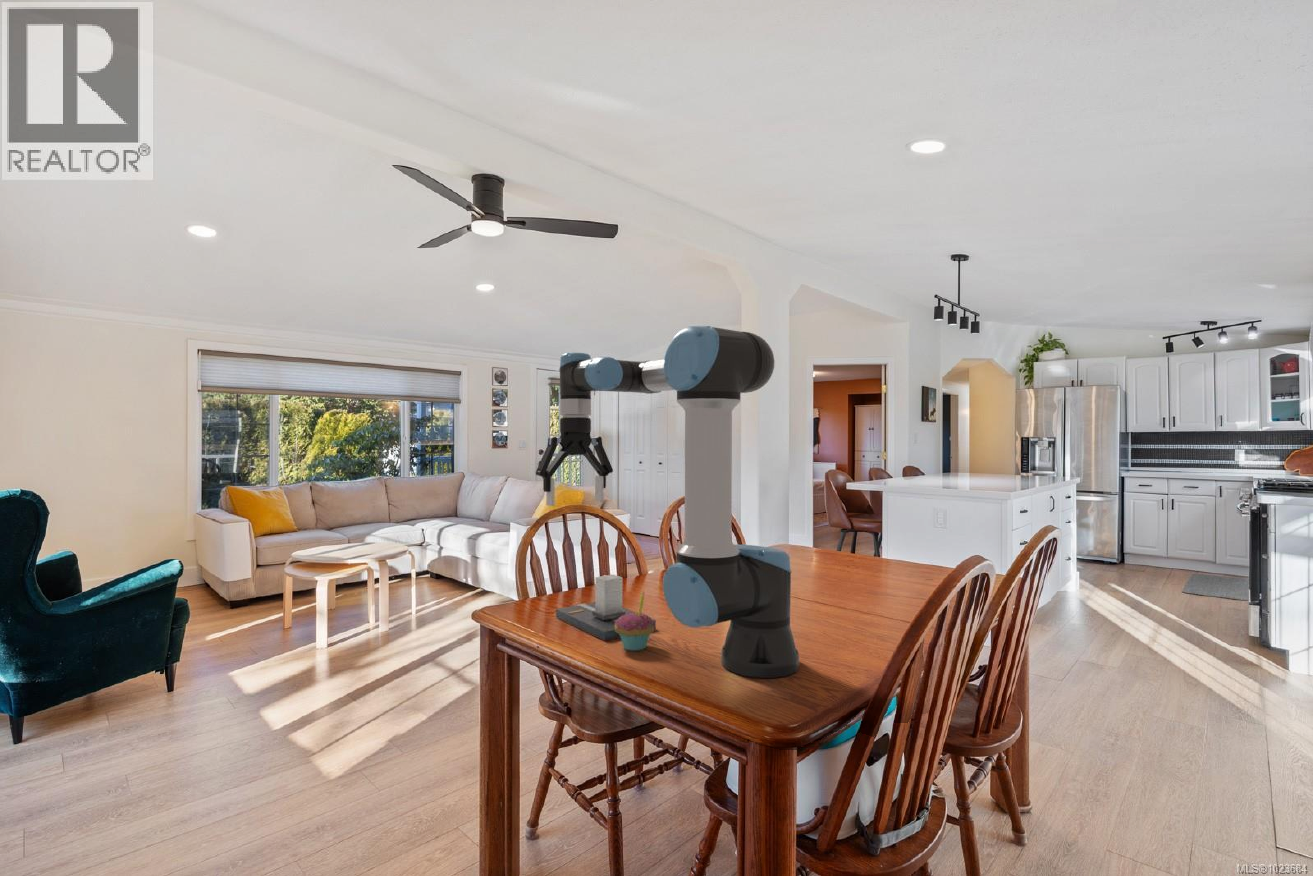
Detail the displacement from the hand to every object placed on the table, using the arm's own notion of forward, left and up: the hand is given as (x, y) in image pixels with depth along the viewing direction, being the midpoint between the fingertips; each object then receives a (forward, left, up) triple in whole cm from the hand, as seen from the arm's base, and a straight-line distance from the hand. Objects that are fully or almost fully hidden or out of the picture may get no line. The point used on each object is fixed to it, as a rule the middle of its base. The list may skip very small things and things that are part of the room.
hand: (575, 503), depth 156 cm
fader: (-10, -3, -26) cm, 28 cm away
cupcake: (-26, +1, -28) cm, 38 cm away
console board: (-8, -3, -28) cm, 29 cm away
